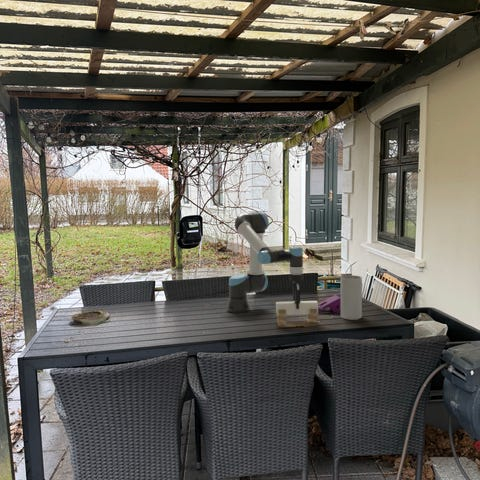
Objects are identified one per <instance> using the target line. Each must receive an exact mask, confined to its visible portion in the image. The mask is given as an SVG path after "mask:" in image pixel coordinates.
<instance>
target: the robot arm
mask: <svg viewBox="0 0 480 480" xmlns="http://www.w3.org/2000/svg"><path fill="white" fill-rule="evenodd" d="M269 226H270V225H269V218H268V216H267V214H265V213H264V212H259V211H257V212H243V213H240V214H239V215H238V216H236V218H235V220H234V229H235V230H236V231H237V232H236V233H238V234H239V235H240V236H243V239H244V240H246V242H247V243H248V244H249V268H248V269H249V270H247V272H246V273H238V274H234V275H231V276H230V277H229V278H228V288H229V289H228V290H229V291H228V293H229V300H228V301H227V302H228V303H227V306H226V311H227V312H229V313H233V314H235V313H236V314H238V313H239V314H241V313H248V312H249V311H250V310H251V307H250V303H249V300H248V294H250V293H251V294H253V293H259V292H263V291H265V290H266V289H267V287H268V283H269V281H268V280H269V279H268V277H267V276H268V275H266V273H265V271H264V270H263V265H268V264H275V263H276V264H277V263H289V273H290V274H289V281H291V282H292V295H293V296H292V298H293V301H295V302H294V303H295V314H300V301H301V283H300V282H302V281H303V280H304V274H303V273H304V266H303V262H304V258H303V257H304V253H303V248H302V246H301V247H300V246H290V247H289V248H279V249H270V248H269V246H268V245H267V244H266V243H265V242H264V240H263V236H264V235H265V233H266V230H268V228H269Z"/></svg>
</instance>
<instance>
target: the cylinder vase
mask: <svg viewBox="0 0 480 480" xmlns="http://www.w3.org/2000/svg"><path fill="white" fill-rule="evenodd" d="M362 295H363V277H362V276H360V275H355V274H354V275H351V274H348V275H347V274H346V275H341V276H340V299H341V312H340V318H341V319H345V320H347V321H349V320H350V321H357V320H359V319H362V316H363V312H362V311H363V308H362V307H363V305H362V304H363V298H362V297H363V296H362Z"/></svg>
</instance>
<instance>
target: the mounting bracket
mask: <svg viewBox="0 0 480 480" xmlns="http://www.w3.org/2000/svg"><path fill="white" fill-rule="evenodd" d="M318 306H323V309H318V313H321V312H323V311H325V310H326V309H328V308H330V310H331V311H332V312H333V313H335V314H336V313H338V314H339V313H340V314H341V297H339V296H338V295H337V294H334V295H333V296H331V297H329V298H327V299H325V300H323V301H321V302H318Z"/></svg>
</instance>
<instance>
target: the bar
mask: <svg viewBox="0 0 480 480" xmlns="http://www.w3.org/2000/svg"><path fill="white" fill-rule="evenodd" d="M294 302H295V301H294V300H292V301H276V302H275V315H276V316H277V315H279V310H286V316H297V315H298V316H300V315H301V316H303V315H304V316H305V315H306V316H307V315H308V314H310V309H317V315H318V314H319V312H318V309H323V306H318V304H319V302H318V300H304V301H303V300H300V314H295V303H294Z"/></svg>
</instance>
